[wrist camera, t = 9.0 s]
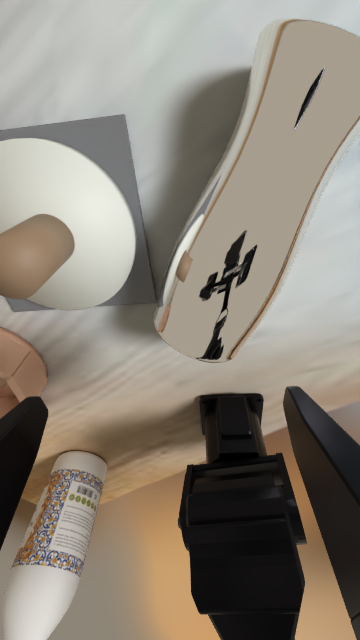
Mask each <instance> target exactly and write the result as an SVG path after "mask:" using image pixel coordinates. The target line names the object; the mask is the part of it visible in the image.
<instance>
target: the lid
mask: <svg viewBox="0 0 360 640" xmlns="http://www.w3.org/2000/svg"><path fill="white" fill-rule="evenodd" d="M136 249H137V234H136V227H135V223H134V219H133V215H132V212H131V210H130V207H129V205H128V203H127V201H126V199H125V197H124V195H123V193H122V192H121V190H120V189H119V187H118V186H117V184H116V183H115V182H114V180H113V179H112V178H111V177H110V176H109V175H108V173H107V172H106V171H105V170H104V169H103V168H101V167H100V166H99V165H98V164H97V163H96V162H95V161H93V160H92V159H91V158H89V157H88V156H87V155H85V154H83V153H82V152H80V151H78V150H76V149H75V148H73V147H70V146H68V145H65V144H63V143H60V142H57V141H53V140H49V139H42V138H18V139H9V140H4V141H0V295H2V296H4V297H7V298H11V299H25V298H26V299H28V300H30V301H32V302H35V303H37V304H40V305H43V306H46V307H50V308H55V309H62V310H80V309H87V308H91V307H94V306H97V305H99V304H102V303H103V302H105V301H107V300H109V299H110V298H111V297H112V296H114V295H115V294H116V293H117V292H118V291H119V290H120V289H121V287H122V286H123V284H124V283H125V281H126V280H127V277H128V275H129V273H130V271H131V269H132V266H133V263H134V260H135V256H136Z"/></svg>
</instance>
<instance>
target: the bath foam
mask: <svg viewBox="0 0 360 640" xmlns="http://www.w3.org/2000/svg"><path fill="white" fill-rule="evenodd" d="M106 473H107V465H106V463H105V462H104V461H103V460H102V459H101V458H100V457H98V456H96V455H94V454H92V453H88V452H84V451H69V452H66V453H63V454H61V455H60V456H59V457H58V458H57V460H56V462H55V464H54V467H53V469H52V471H51V474H50V476H49V478H48V481H47V483H46V486H45V488H44V490H43V493H42V495H41V498H40V500H39V502H38V505H37V507H36V510H35V512H34V515H33V517H32V520H31V522H30V524H29V527H28V529H27V531H26V534H25V536H24V539H23V541H22V544H21V546H20V548H19V551H18V553H17V555H16V558H15V560H14V563H13V566H12V567H11V571H10V573H9V576H8V580H7V583H6V587H5V592H4V598H3V631H4V632H3V633H4V640H46V639H47V638H48V637H49V635H50V634H51V633H52V631H53V630H54V629H55V627H56V626H57V625H58V623H59V622H60V620H61V619H62V617H63V616H64V614H65V613H66V611H67V609H68V607H69V605H70V603H71V601H72V599H73V597H74V594H75V592H76V589H77V586H78V584H79V580H80V577H81V573H82V568H83V565H84V561H85V557H86V553H87V549H88V545H89V541H90V537H91V532H92V529H93V525H94V521H95V517H96V513H97V509H98V505H99V501H100V497H101V493H102V489H103V485H104V481H105V477H106Z"/></svg>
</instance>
